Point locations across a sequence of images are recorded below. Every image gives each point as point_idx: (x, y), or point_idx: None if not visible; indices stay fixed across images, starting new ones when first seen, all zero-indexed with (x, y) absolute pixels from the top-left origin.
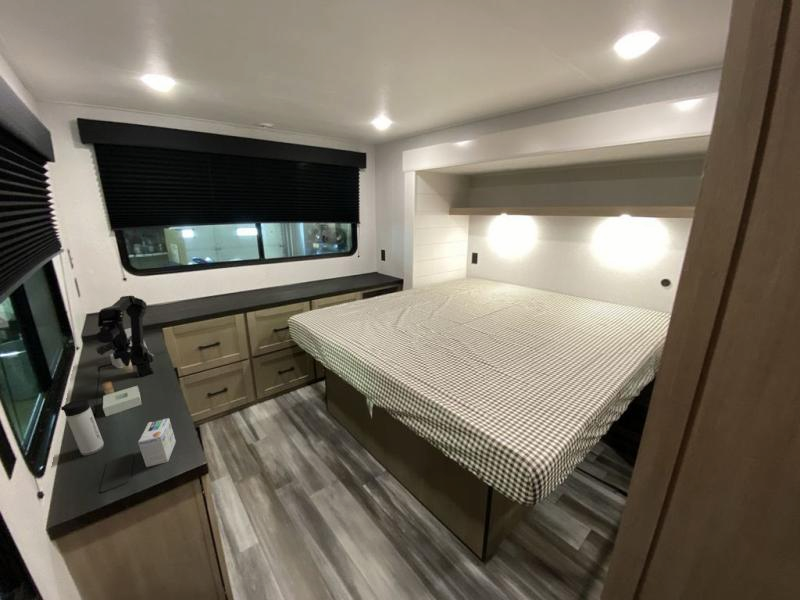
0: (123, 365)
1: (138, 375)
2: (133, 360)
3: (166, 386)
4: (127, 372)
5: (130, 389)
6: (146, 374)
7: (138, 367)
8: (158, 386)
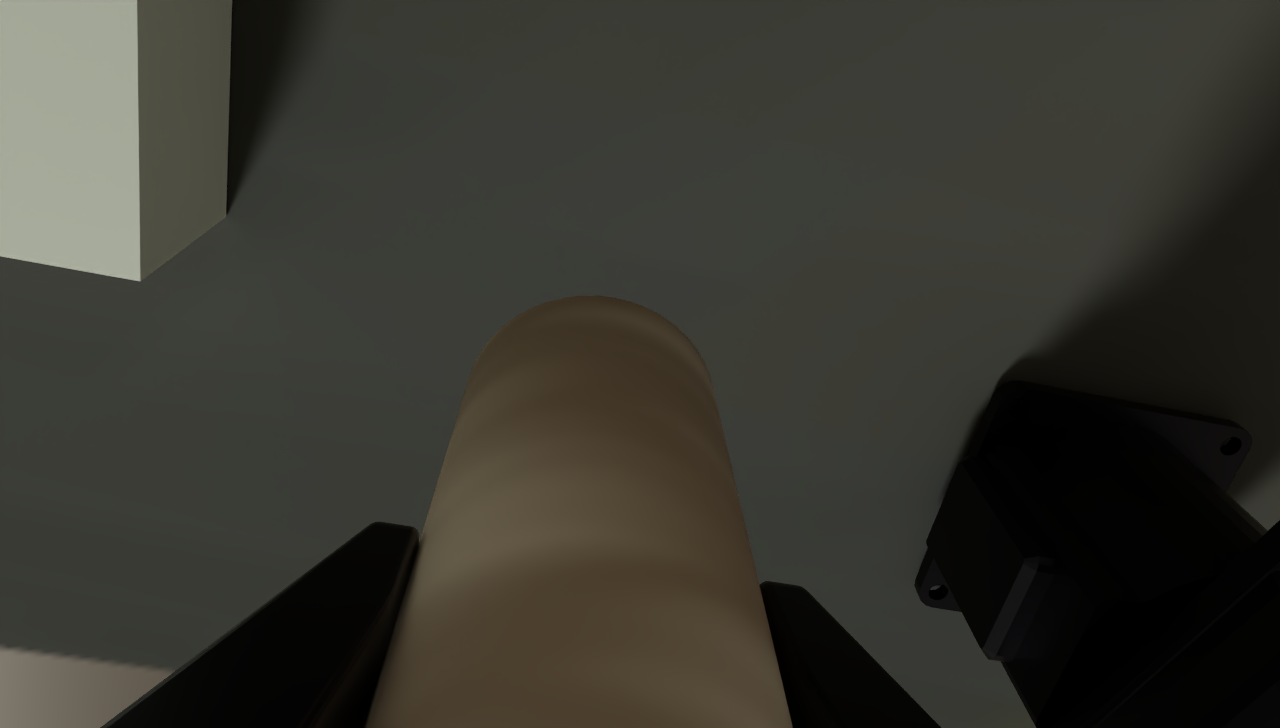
0: (509, 480)
1: (1063, 410)
2: (1213, 707)
3: (135, 581)
4: (483, 350)
5: (12, 109)
6: (939, 512)
7: (1125, 556)
8: (249, 504)
